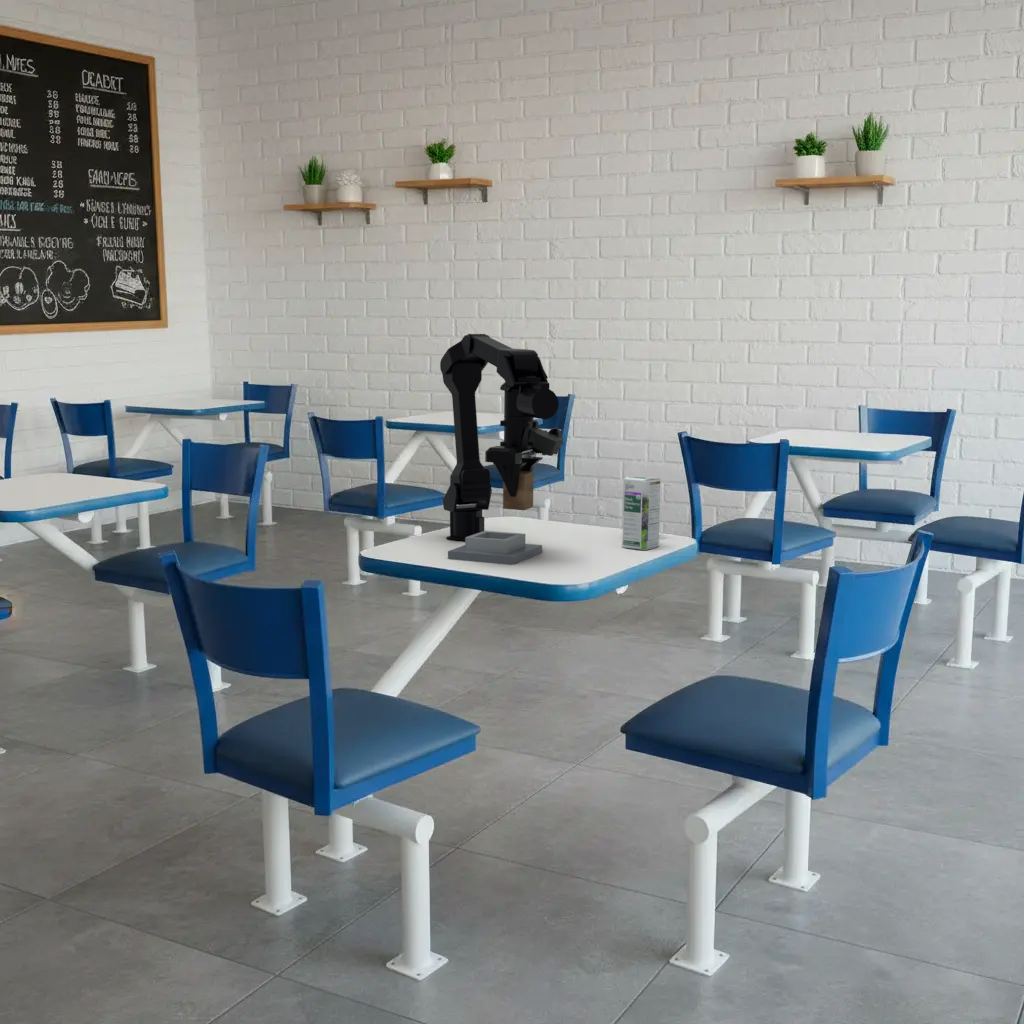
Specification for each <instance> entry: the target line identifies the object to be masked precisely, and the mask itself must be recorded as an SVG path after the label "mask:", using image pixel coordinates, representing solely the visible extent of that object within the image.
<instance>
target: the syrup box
mask: <svg viewBox="0 0 1024 1024" xmlns="http://www.w3.org/2000/svg"><path fill="white" fill-rule="evenodd" d="M622 489H623V493H622V494H623V495H622V496H623V500H622V502H623V503H622V507H623V509H622V537H621V539H622V541H621V546H622V549H633V550H641V551H647V550H648V551H649V550H651V549H655V548H658V547H659V545H660V543H659V542H660V538H659V537H660V509H661V508H660V507H661V506H660V505H661V477H660V478H659V477H648V476H639V475H638V476H636V475H632V476H627V477H624V478H623V488H622Z"/></svg>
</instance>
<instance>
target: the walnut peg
mask: <svg viewBox="0 0 1024 1024" xmlns="http://www.w3.org/2000/svg"><path fill="white" fill-rule="evenodd" d="M534 473H535V472H534V471H532V472H529V471H520V473H519V480H518V488H517V494H516V496H515V497H511V496H510V495H509V492H508V490H507V488H506V486H505V484H504V481H503V480H502V509H504V510H513V511H514V510H515V511H516V510H517V511H527V510H528V509H532V508H534V477H535V476H534Z"/></svg>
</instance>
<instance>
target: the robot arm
mask: <svg viewBox="0 0 1024 1024" xmlns="http://www.w3.org/2000/svg"><path fill="white" fill-rule="evenodd" d="M488 364H490V365H492V366H494V367H496V374H498V375H499V376H500V377H501V378H502V379H503V380H504V383H502V384H501V385H500V388H499V390H500V391H504V399H503V400H504V401H503V402H504V405H503V407H504V408H503V411H504V413H503V419H502V420H500V424H499V425H500V427H503V440H502V441H500V442H499V445H495V446H491V447H488V448H487V449H486V451H485V453H484V459H485V460H484V462H485V463H492V464H493V465H494V466H495V468H496V469H497V472H498V473H499V475H500V477H501V479H502V482H503V481H504V484H505V486H506V488H507V490H508V492H509V495H510V496H511V497H515V496H516V494H517V488H518V480H519V473H520V471H529V472H533V470H534V467H535V466H536V465H537V464H539V462H541V461H542V460H543V459H544V458H543V456H548V457H552V456H553V455H558V453H559V450H560V448H561V446H564V437H563V434H562V432H563V431H562V430H561V429H559V428H557V427H552V428H551V429H550V430H549V431H548V430H546V429H542V428H539V422H538V420H537V419H540V420H548V419H551V418H553V417H554V416H555V414H556V413H557V412H558V409H559V404H560V403H559V402H560V401H559V399H558V397H557V394H556V393H555V391H553V390H551V389H550V383H549V381H548V375H547V373H546V371H545V370H544V366H543V364H542V361H541V358H540V357H539V355H538V352H536V350H534V349H528V348H527V349H526V348H512V347H511V346H508V345H506V344H504V343H502V342H500V341H497V340H496V339H495V338H493V337H490V335H488V334H486V333H468V334H466V335H464V336H463V337H462V338H461V340H460V341H459V342H457V343H455V344H454V345H452V346H450V347H449V348H447V349H446V352H445V353H444V354H443V356H442V357H441V359H440V363H439V365H440V366H439V367H440V371H441V374H442V380H443V381H442V382H443V383H444V385H445V387H446V388H447V390H448V392H449V393H450V394H451V398H452V413H453V414H452V415H453V427H454V428H453V430H454V438H455V439H454V441H455V443H454V444H455V456H456V464H455V466H454V467H453V470H452V472H451V474H450V477H449V481H450V482H449V484H450V485H449V486H448V488H447V491H446V493H445V495H444V496H443V499H442V505H443V510H444V511H447V512H449V535H447V536H446V537H445V539H446V540H455V541H465V537H468V536H471V535H474V534H477V533H480V532H483V531H485V517H484V516H483V510H485V511H488V510H489V509H490V503H491V497H492V493H493V489H492V485H491V473H490V470H489V468H485V466H484V465H483V464H482V463H481V459H480V458H481V457H480V444H479V435H478V434H479V433H478V432H479V431H478V429H479V428H478V417H477V415H478V414H477V403H476V392H477V390H478V388H479V386H480V384H481V382H482V376H483V375H482V374H483V371H484V369H485V368H486V367H487V365H488ZM537 454H541V455H542V456H537Z"/></svg>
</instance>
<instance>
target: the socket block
mask: <svg viewBox="0 0 1024 1024" xmlns="http://www.w3.org/2000/svg"><path fill="white" fill-rule="evenodd" d="M464 543H465V544H464V545H461V546H459V547H456V548H453V549H451V550H448V551H447V559H448V560H457V561H458V560H459V561H468V562H469V561H470V562H481V563H490V562H491V563H493V564H501V563H502V564H503V565H512V564H514V565H516V564H518V563H520V561H521V562H524V561H525V559H526V560H528V559H529V558H532V557H535V556H537V555H540V554H542V553H543V545H542V544H534V543H533V544H532V543H526V533H519V532H508V531H494V530H484V531H483V532H480V533H477V534H474V535H471V536H468V537H465V540H464ZM527 558H528V559H527ZM491 563H490V564H491ZM502 564H501V565H502Z"/></svg>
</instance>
